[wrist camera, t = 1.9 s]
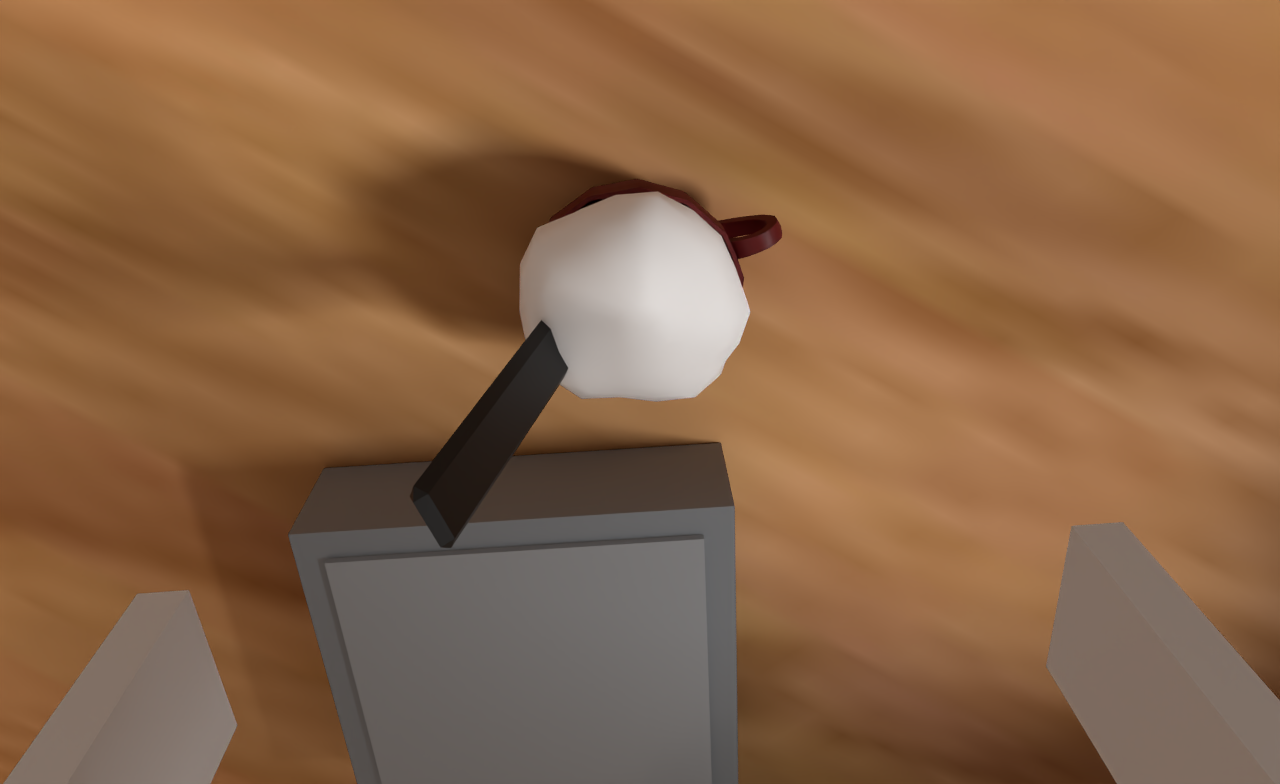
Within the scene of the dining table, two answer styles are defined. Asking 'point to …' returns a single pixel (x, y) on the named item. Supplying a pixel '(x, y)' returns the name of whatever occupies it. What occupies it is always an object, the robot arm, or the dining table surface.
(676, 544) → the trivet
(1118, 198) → the dining table surface
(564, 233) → the cocoa
